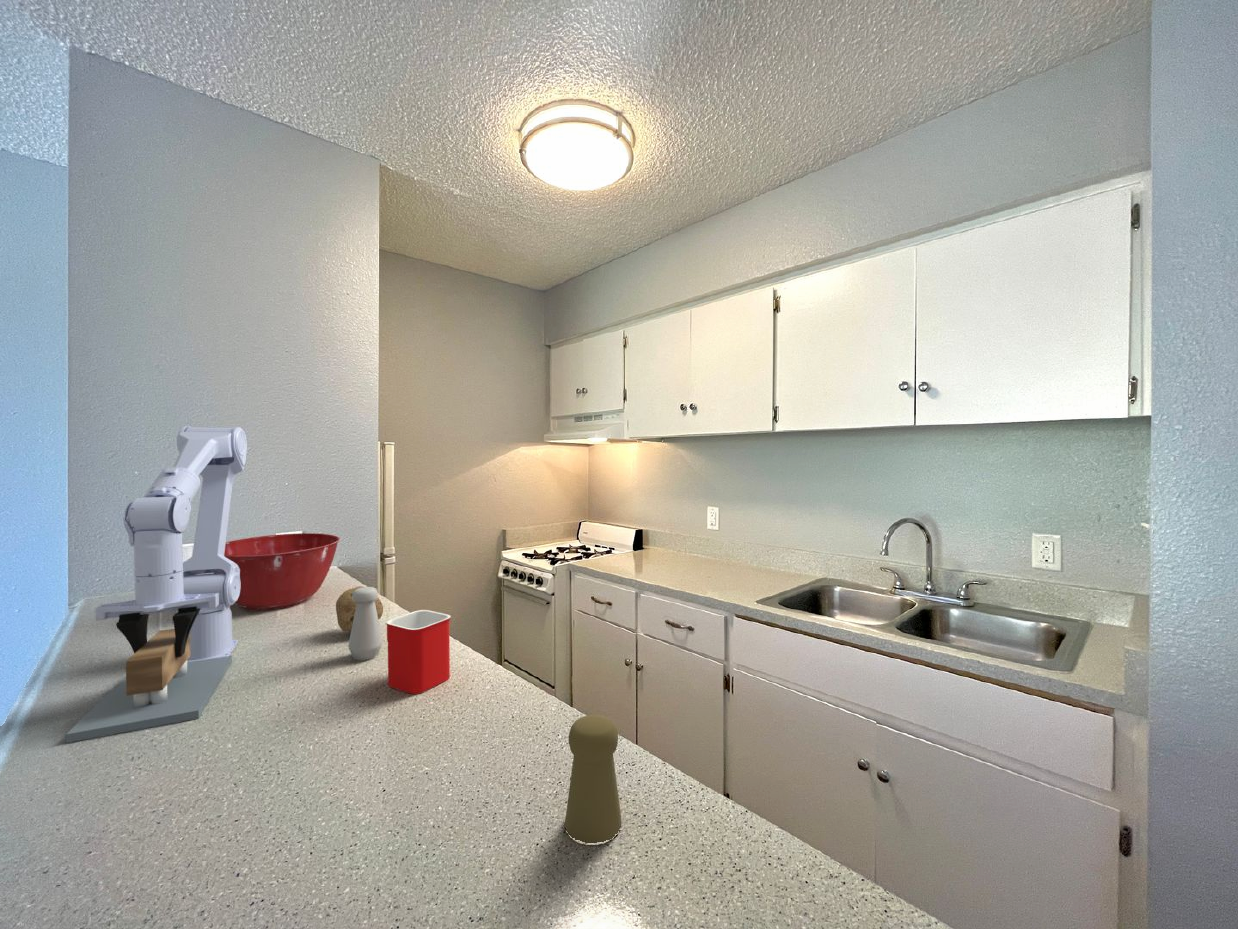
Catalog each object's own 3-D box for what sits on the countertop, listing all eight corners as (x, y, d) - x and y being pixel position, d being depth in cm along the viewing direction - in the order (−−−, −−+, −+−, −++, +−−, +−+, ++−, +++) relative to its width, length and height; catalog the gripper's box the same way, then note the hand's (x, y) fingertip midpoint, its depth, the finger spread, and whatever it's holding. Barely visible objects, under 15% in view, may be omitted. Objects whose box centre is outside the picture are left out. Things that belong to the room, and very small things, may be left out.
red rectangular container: (455, 677, 89) (455, 616, 88) (416, 697, 81) (415, 631, 81) (408, 662, 94) (408, 605, 94) (367, 680, 87) (367, 618, 87)
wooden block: (160, 660, 86) (159, 630, 86) (190, 655, 88) (189, 626, 88) (126, 695, 74) (125, 661, 74) (162, 690, 76) (161, 656, 76)
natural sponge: (385, 624, 115) (385, 580, 115) (380, 638, 106) (380, 590, 106) (340, 628, 112) (339, 583, 112) (331, 643, 104) (330, 594, 103)
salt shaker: (368, 664, 94) (367, 593, 93) (341, 661, 95) (340, 591, 94) (389, 651, 99) (388, 585, 99) (363, 649, 101) (362, 583, 100)
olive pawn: (565, 805, 57) (565, 708, 56) (619, 802, 57) (619, 705, 57) (563, 848, 51) (563, 739, 50) (624, 844, 51) (624, 736, 51)
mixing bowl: (296, 621, 117) (295, 554, 116) (172, 620, 117) (171, 553, 116) (360, 587, 145) (359, 533, 144) (261, 587, 145) (259, 532, 145)
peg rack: (131, 677, 88) (131, 656, 88) (232, 662, 94) (231, 642, 94) (66, 743, 68) (65, 716, 68) (198, 718, 75) (198, 693, 75)
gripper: (84, 584, 74) (87, 676, 74) (210, 573, 80) (212, 658, 81) (106, 573, 80) (108, 658, 81) (221, 564, 87) (222, 643, 87)
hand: (161, 657), depth 81 cm, fingers closed on wooden block, 4 cm apart
